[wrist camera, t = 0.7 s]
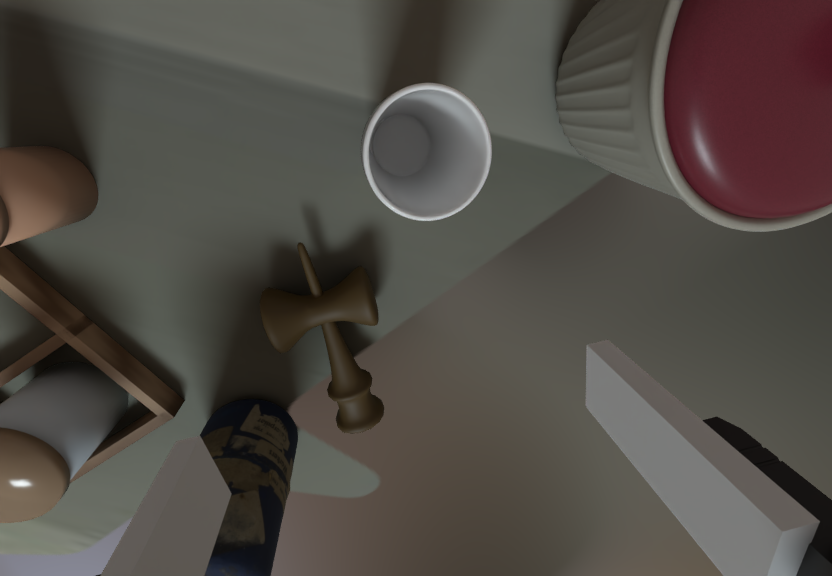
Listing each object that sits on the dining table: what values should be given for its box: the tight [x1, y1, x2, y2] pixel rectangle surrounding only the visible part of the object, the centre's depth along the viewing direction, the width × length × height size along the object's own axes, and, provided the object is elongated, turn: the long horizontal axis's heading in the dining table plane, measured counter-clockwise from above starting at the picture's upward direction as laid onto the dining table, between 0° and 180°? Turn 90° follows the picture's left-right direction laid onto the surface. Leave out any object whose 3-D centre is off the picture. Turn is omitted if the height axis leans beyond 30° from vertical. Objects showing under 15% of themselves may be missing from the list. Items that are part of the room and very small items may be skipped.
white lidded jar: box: [0, 362, 128, 523], centre depth 33 cm, size 9×9×10 cm
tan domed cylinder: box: [0, 146, 98, 247], centre depth 26 cm, size 6×6×10 cm
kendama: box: [260, 243, 384, 434], centre depth 36 cm, size 6×10×20 cm
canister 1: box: [200, 399, 298, 576], centre depth 34 cm, size 10×10×18 cm
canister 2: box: [555, 0, 832, 232], centre depth 24 cm, size 18×18×21 cm
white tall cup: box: [361, 83, 492, 221], centre depth 26 cm, size 7×7×15 cm
